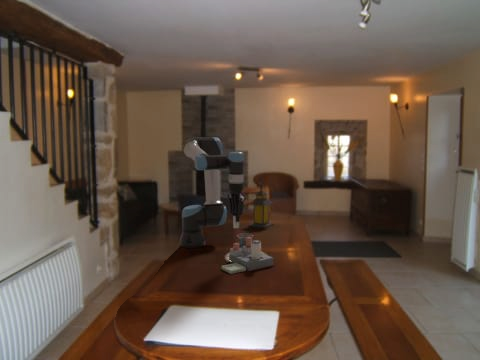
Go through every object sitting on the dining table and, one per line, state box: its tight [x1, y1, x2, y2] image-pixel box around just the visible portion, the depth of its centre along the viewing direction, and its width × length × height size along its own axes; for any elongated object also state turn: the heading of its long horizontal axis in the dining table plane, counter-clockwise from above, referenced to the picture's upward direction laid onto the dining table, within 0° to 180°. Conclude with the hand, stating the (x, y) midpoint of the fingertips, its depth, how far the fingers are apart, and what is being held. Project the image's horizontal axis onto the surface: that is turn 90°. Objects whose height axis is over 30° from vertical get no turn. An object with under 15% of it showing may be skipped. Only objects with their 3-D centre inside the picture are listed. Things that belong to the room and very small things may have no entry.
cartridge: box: [251, 239, 262, 260], centre depth 208 cm, size 5×5×13 cm
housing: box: [228, 246, 274, 272], centre depth 212 cm, size 18×15×7 cm
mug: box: [236, 233, 254, 251], centre depth 228 cm, size 12×9×11 cm
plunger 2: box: [246, 237, 253, 247], centre depth 218 cm, size 3×3×4 cm
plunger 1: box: [232, 242, 239, 250], centre depth 213 cm, size 3×3×4 cm
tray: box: [221, 263, 247, 275], centre depth 202 cm, size 9×9×2 cm
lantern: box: [248, 183, 274, 229], centre depth 297 cm, size 14×14×30 cm
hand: (236, 227), depth 212 cm, fingers closed
